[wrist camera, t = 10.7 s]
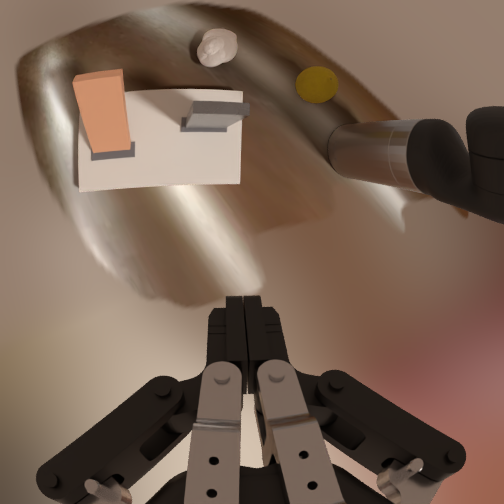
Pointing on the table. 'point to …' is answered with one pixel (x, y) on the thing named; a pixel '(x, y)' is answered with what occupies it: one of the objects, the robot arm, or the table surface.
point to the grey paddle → (215, 114)
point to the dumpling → (217, 47)
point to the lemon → (316, 84)
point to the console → (164, 145)
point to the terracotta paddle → (103, 109)
